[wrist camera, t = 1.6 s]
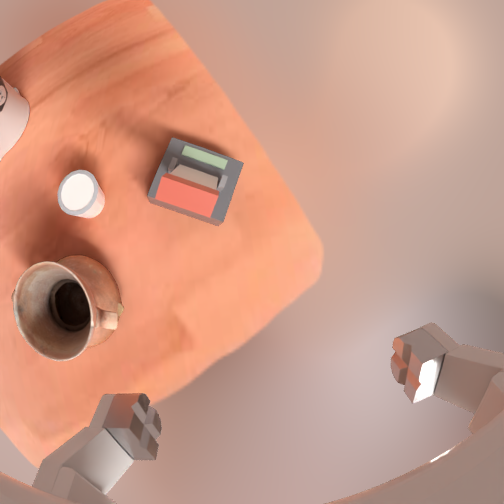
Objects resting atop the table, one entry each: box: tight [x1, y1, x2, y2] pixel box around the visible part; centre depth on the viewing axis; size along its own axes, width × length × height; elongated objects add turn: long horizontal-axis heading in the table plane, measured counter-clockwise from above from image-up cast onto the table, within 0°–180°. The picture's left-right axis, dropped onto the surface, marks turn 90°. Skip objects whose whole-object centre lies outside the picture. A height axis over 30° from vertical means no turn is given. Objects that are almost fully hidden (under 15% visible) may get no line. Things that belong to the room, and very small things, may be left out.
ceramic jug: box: [12, 255, 124, 361], centre depth 33 cm, size 18×14×14 cm
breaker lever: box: [155, 164, 219, 218], centre depth 34 cm, size 3×6×13 cm, turn 72°
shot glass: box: [58, 170, 105, 218], centre depth 37 cm, size 7×7×7 cm
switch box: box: [147, 137, 244, 226], centre depth 41 cm, size 10×12×8 cm
